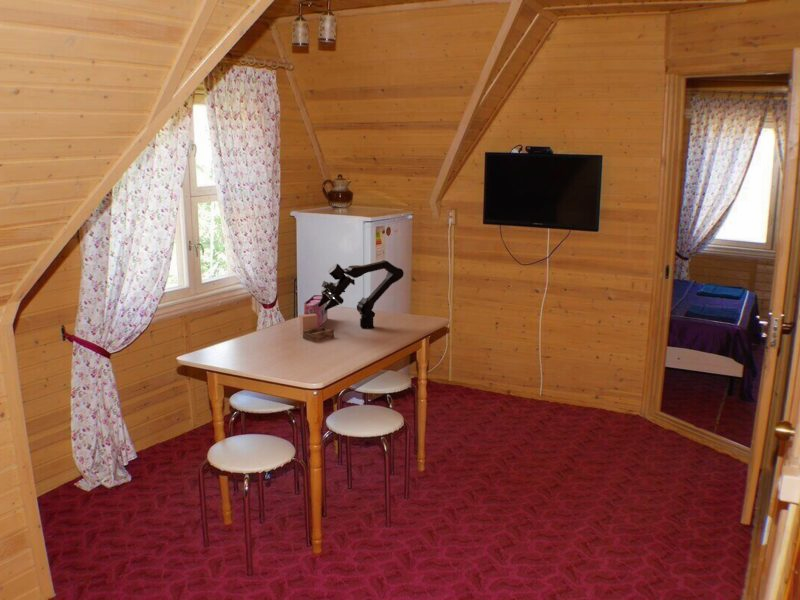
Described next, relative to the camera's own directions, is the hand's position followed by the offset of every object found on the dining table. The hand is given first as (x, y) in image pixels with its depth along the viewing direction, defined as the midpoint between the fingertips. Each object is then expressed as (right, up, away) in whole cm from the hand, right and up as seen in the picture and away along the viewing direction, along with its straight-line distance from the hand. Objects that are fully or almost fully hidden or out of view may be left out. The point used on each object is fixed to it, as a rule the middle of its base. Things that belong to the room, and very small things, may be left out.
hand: (321, 308), depth 383 cm
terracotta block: (-7, -13, 0) cm, 15 cm away
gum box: (-5, -9, +22) cm, 24 cm away
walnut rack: (-1, -15, -8) cm, 17 cm away
